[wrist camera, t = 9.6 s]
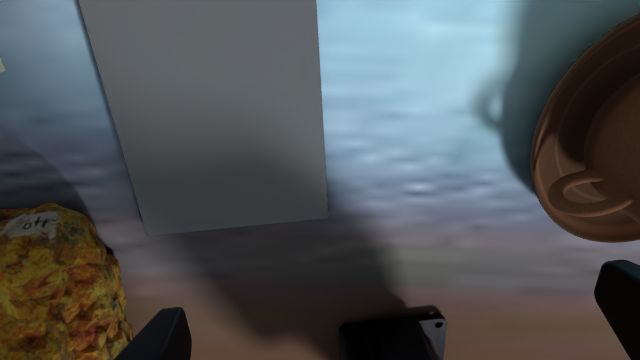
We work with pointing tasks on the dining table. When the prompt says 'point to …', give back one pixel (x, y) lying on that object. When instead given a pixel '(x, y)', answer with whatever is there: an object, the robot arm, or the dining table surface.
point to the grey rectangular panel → (215, 108)
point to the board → (1, 66)
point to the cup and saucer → (593, 142)
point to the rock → (58, 288)
